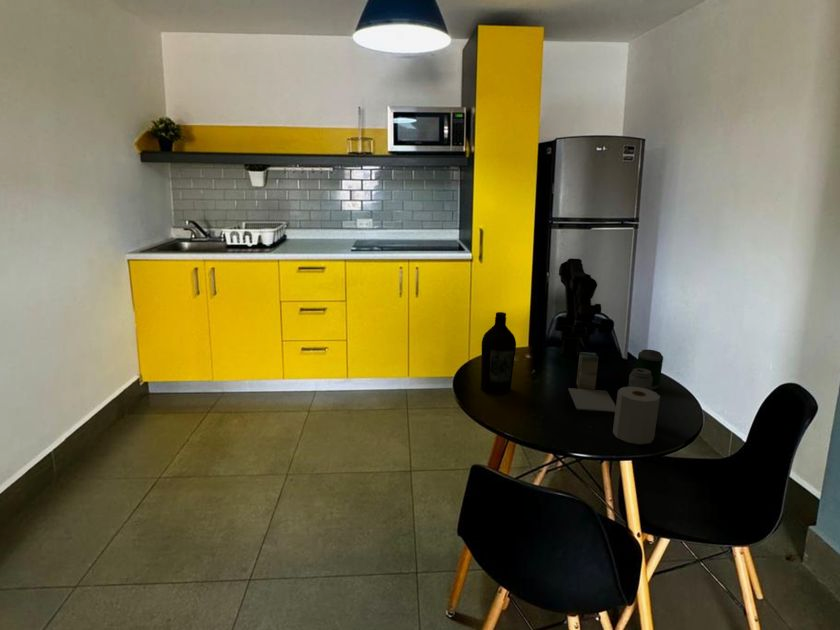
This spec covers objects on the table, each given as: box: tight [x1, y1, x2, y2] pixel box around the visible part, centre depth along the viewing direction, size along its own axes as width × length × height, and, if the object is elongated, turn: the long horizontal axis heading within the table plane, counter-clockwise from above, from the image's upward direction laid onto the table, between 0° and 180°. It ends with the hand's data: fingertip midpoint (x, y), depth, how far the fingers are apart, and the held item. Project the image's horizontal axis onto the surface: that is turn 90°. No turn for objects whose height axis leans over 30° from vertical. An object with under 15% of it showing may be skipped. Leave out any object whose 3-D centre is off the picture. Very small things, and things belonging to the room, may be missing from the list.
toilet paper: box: [612, 386, 661, 445], centre depth 151 cm, size 10×10×12 cm
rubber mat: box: [567, 387, 616, 413], centre depth 176 cm, size 16×12×1 cm
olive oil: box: [480, 311, 517, 396], centre depth 178 cm, size 11×11×25 cm
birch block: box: [575, 351, 599, 390], centre depth 185 cm, size 5×5×11 cm
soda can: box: [636, 349, 664, 391], centre depth 187 cm, size 8×8×12 cm
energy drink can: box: [627, 367, 653, 391], centre depth 160 cm, size 6×6×15 cm
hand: (585, 347), depth 190 cm, fingers closed
